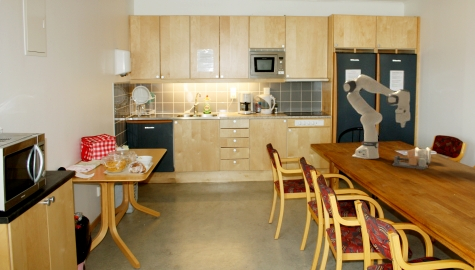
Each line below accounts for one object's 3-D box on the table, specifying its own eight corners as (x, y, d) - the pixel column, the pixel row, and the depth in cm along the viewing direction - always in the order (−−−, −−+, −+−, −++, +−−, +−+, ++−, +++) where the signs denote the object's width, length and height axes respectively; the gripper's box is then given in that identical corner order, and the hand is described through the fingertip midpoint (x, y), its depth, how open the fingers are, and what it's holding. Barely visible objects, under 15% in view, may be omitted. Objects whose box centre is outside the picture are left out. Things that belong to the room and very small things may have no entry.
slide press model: (392, 165, 353) (392, 156, 352) (397, 163, 360) (398, 154, 359) (423, 169, 337) (423, 160, 336) (428, 167, 344) (428, 158, 343)
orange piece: (406, 165, 344) (407, 151, 342) (413, 162, 352) (413, 148, 351) (414, 166, 340) (415, 151, 338) (420, 163, 348) (421, 149, 347)
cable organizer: (430, 164, 354) (431, 150, 352) (416, 164, 357) (417, 149, 355) (427, 160, 368) (428, 147, 367) (414, 160, 371) (414, 146, 370)
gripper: (404, 108, 366) (404, 125, 368) (394, 110, 351) (393, 128, 353) (412, 109, 361) (412, 126, 363) (402, 111, 347) (401, 128, 348)
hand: (402, 127), depth 358 cm, fingers closed
